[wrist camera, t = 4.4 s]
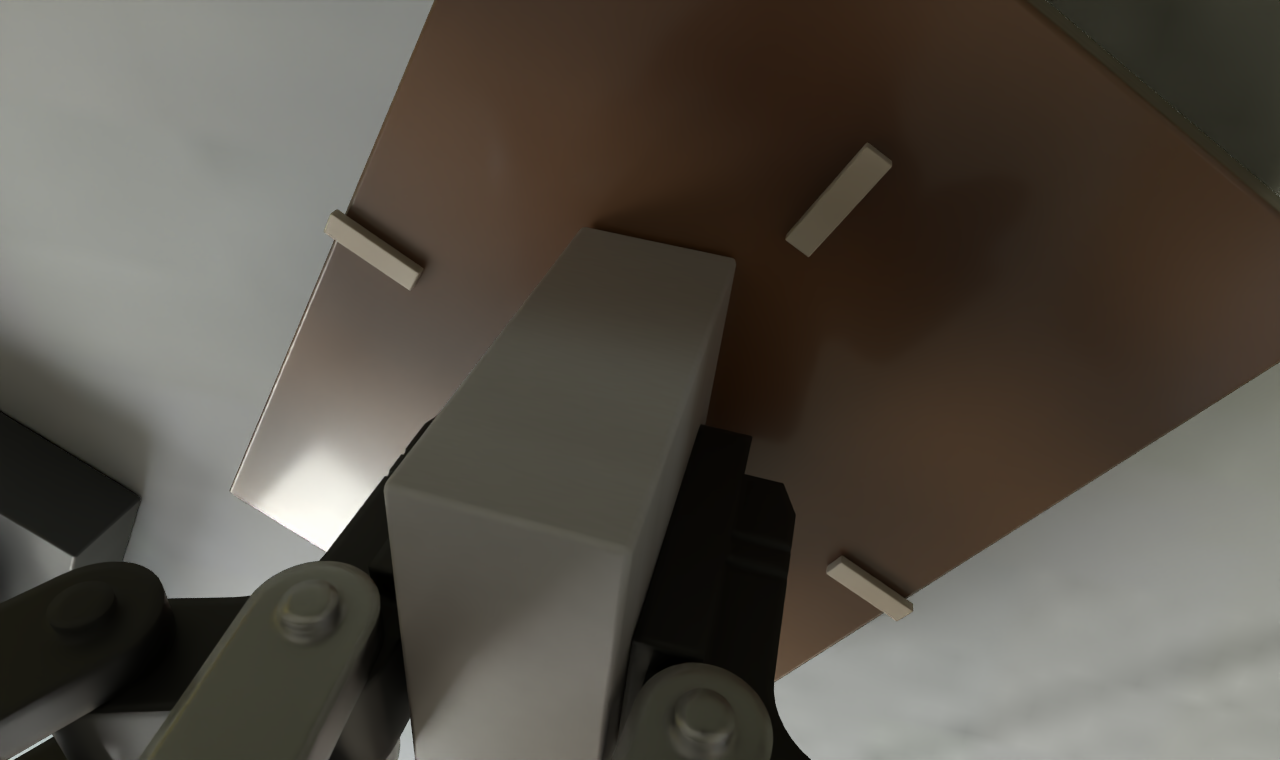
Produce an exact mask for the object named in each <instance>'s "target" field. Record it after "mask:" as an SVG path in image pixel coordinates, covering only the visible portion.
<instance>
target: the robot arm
mask: <svg viewBox="0 0 1280 760" xmlns="http://www.w3.org/2000/svg"><path fill="white" fill-rule="evenodd" d="M435 418H436V417H434V418H433V419H431V420H429V421H428V422H426V423H425V424H424V425H423V427H422V428H421V429H420V430H419V432H418V433H417V434H416V436H415V437H414V438H413V440H412V441H411V442H410V444H409V445H408V446H407V448H406V449H405V453H404V455H403V454H401V455H400V457H399V458H398V459H397V461H396V462H395V463H394V465H393V466H392V467H391V468H390V470H389V474H388V476H384V478H383V479H382V480H381V482H380V483H379V484H378V485H377V487H376V488H375V489H374V491H373V492H372V493H371V495H370V496H369V497H368V499H367V500H366V501H365V502H364V504H363V505H362V506H361V508H360V509H359V510H358V512H357V513H356V514H355V516H354V517H353V518H352V520H351V521H350V522H349V523H348V525H347V526H346V527H345V529H344V530H343V531H342V533H341V534H340V535H339V537H338V538H337V539H336V540H335V542H334V543H333V544H332V546H331V547H330V548H329V550H328V551H327V552H326V554H325V555H324V556H323V557H322V558H321V559H320V561H315V562H308V563H304V564H300V565H296V566H293V567H291V568H288V569H286V570H283V571H282V572H280V573H278V574H276V575H274V576H272V577H271V578H270V579H268V580H267V581H265V582H264V583H263V584H262V585H261V586H260V587H258V588H257V589H256V590H255V591H254V592H253V594H252V595H251V596H244V597H226V598H171V599H168V598H167V596H166V593H165V591H164V588H163V585H162V583H161V582H160V580H159V578H158V577H157V576H156V575H155V574H154V573H153V572H152V571H150V570H149V569H147V568H146V567H143V566H140V565H138V564H134V563H128V562H114V561H113V562H102V563H96V564H91V565H86V566H83V567H80V568H77V569H73V570H71V571H69V572H66V573H64V574H61V575H59V576H57V577H55V578H53V579H51V580H49V581H47V582H44V583H42V584H40V585H38V586H36V587H34V588H32V589H30V590H28V591H25V592H23V593H21V594H19V595H17V596H15V597H13V598H11V599H9V600H6V601H4V602H2V603H0V760H8V759H10V758H11V757H13V756H15V755H17V754H18V753H20V752H22V751H23V750H25V749H27V748H29V747H30V746H32V745H34V744H36V743H37V742H39V741H41V740H42V739H44V738H46V737H48V736H49V735H51V734H52V735H53V736H54V737H52V738H50V739H49V740H47V741H45V742H44V743H42V744H40V745H38V746H37V747H35V748H33V749H32V750H30V751H28V752H26V753H25V754H23V755H21V756H20V757H18V758H16V759H14V760H398V757H399V752H400V736H401V734H402V732H403V730H404V728H405V726H406V724H407V723H408V721H409V719H410V710H409V702H408V693H407V685H406V676H405V668H404V659H403V651H402V642H401V634H400V625H399V617H398V608H397V600H396V591H395V583H394V574H393V566H392V557H391V549H390V540H389V532H388V523H387V515H386V506H385V498H384V486H385V483H386V481H387V480H388V479H389V478H390V476H391V475H392V474H393V472H394V471H395V470H396V468H397V467H398V466H399V465H400V463H401V462H402V461H403V459H404V458H405V457H406V455H407V454H408V453H409V452H410V450H411V449H412V448H413V446H414V445H415V444H416V442H417V441H418V440H419V439H420V437H421V436H422V435H423V433H424V432H425V431H426V429H427V428H428V427H429V426H430V424H431V423H432V422H433V420H434V419H435ZM752 437H753V436H750V435H746V434H741V433H737V432H733V431H729V430H724V429H720V428H716V427H712V426H707V425H703V424H701V425H700V427H699V430H698V433H697V436H696V439H695V442H694V445H693V448H692V452H691V455H690V458H689V461H688V464H687V467H686V470H685V473H684V477H683V480H682V483H681V486H680V489H679V492H678V495H677V499H676V502H675V505H674V508H673V511H672V515H671V518H670V521H669V524H668V528H667V531H666V534H665V537H664V540H663V544H662V547H661V550H660V553H659V556H658V560H657V563H656V566H655V569H654V573H653V576H652V579H651V582H650V585H649V589H648V592H647V595H646V598H645V602H644V605H643V608H642V611H641V614H640V618H639V621H638V624H637V627H636V631H635V634H634V637H633V640H632V647H631V654H630V660H629V667H628V673H627V680H626V687H625V693H624V700H623V706H622V713H621V720H620V726H619V733H618V739H617V746H616V749H615V751H614V754H613V756H612V758H611V760H811V759H810V758H809V757H808V756H806V755H805V754H804V753H803V752H802V751H801V750H800V749H799V747H798V746H797V745H796V744H795V742H794V741H793V740H792V739H791V737H790V736H789V734H788V732H787V731H786V729H785V728H784V726H783V723H782V721H781V719H780V717H779V714H778V711H777V707H776V704H775V697H774V678H775V671H776V663H777V655H778V648H779V640H780V633H781V625H782V617H783V610H784V602H785V594H786V587H787V576H788V572H789V564H790V556H791V553H790V552H791V548H792V541H793V534H794V526H795V518H796V514H795V511H794V509H793V506H792V504H791V501H790V498H789V496H788V493H787V491H786V488H785V486H784V483H780V482H776V481H772V480H768V479H763V478H759V477H755V476H751V475H747V474H745V470H746V465H747V460H748V456H749V451H750V447H751V442H752Z"/></svg>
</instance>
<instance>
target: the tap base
mask: <svg viewBox="0 0 1280 760" xmlns="http://www.w3.org/2000/svg"><path fill="white" fill-rule="evenodd" d="M584 227H587V228H592V229H597V230H602V231H606V232H611V233H616V234H621V235H625V236H630V237H635V238H640V239H644V240H649V241H654V242H659V243H663V244H668V245H673V246H678V247H682V248H687V249H692V250H697V251H702V252H706V253H711V254H716V255H721V256H725V257H730V258H733V259H735V262H736V268H735V273H734V278H733V283H732V289H731V294H730V299H729V304H728V309H727V314H726V320H725V325H724V330H723V335H722V340H721V345H720V351H719V356H718V361H717V366H716V371H715V376H714V382H713V387H712V392H711V397H710V402H709V407H708V413H707V418H706V423H705V425H707V426H712V427H716V428H720V429H724V430H729V431H733V432H737V433H741V434H746V435H750V436H753V437H752V442H751V447H750V451H749V456H748V460H747V465H746V470H745V474H747V475H751V476H755V477H759V478H763V479H768V480H772V481H776V482H780V483H784V486H785V488H786V491H787V493H788V496H789V498H790V501H791V504H792V506H793V509H794V511H795V514H796V518H795V526H794V534H793V541H792V548H791V552H790V553H791V556H790V564H789V572H788V576H787V587H786V594H785V602H784V610H783V617H782V625H781V633H780V640H779V648H778V655H777V663H776V671H775V678H774V682H776V681H777V680H779V679H781V678H782V677H784V676H785V675H787V674H788V673H790V672H792V671H793V670H795V669H796V668H798V667H799V666H801V665H803V664H804V663H806V662H807V661H809V660H810V659H812V658H814V657H815V656H817V655H818V654H820V653H822V652H823V651H825V650H826V649H828V648H829V647H831V646H833V645H834V644H836V643H837V642H839V641H840V640H842V639H844V638H845V637H847V636H848V635H850V634H852V633H853V632H855V631H856V630H858V629H859V628H861V627H863V626H864V625H866V624H867V623H869V622H870V621H872V620H874V619H875V618H877V617H878V616H880V615H881V614H883V613H885V614H887V615H888V616H890V617H891V618H893V619H894V620H895V621H898V620H900V619H902V618H903V617H905V616H906V615H908V614H910V613H911V612H913V604H912V603H911V602H910V601H908V600H907V598H908V597H910V596H911V595H913V594H915V593H916V592H918V591H919V590H921V589H923V588H924V587H926V586H927V585H929V584H930V583H932V582H934V581H935V580H937V579H938V578H940V577H941V576H943V575H945V574H946V573H948V572H949V571H951V570H952V569H954V568H956V567H957V566H959V565H960V564H962V563H964V562H965V561H967V560H968V559H970V558H971V557H973V556H975V555H976V554H978V553H979V552H981V551H982V550H984V549H986V548H987V547H989V546H990V545H992V544H994V543H995V542H997V541H998V540H1000V539H1001V538H1003V537H1005V536H1006V535H1008V534H1009V533H1011V532H1012V531H1014V530H1016V529H1017V528H1019V527H1020V526H1022V525H1023V524H1025V523H1027V522H1028V521H1030V520H1031V519H1033V518H1035V517H1036V516H1038V515H1039V514H1041V513H1042V512H1044V511H1046V510H1047V509H1049V508H1050V507H1052V506H1053V505H1055V504H1057V503H1058V502H1060V501H1061V500H1063V499H1065V498H1066V497H1068V496H1069V495H1071V494H1072V493H1074V492H1076V491H1077V490H1079V489H1080V488H1082V487H1083V486H1085V485H1087V484H1088V483H1090V482H1091V481H1093V480H1094V479H1096V478H1098V477H1099V476H1101V475H1102V474H1104V473H1106V472H1107V471H1109V470H1110V469H1112V468H1113V467H1115V466H1117V465H1118V464H1120V463H1121V462H1123V461H1124V460H1126V459H1128V458H1129V457H1131V456H1132V455H1134V454H1136V453H1137V452H1139V451H1140V450H1142V449H1143V448H1145V447H1147V446H1148V445H1150V444H1151V443H1153V442H1154V441H1156V440H1158V439H1159V438H1161V437H1162V436H1164V435H1165V434H1167V433H1169V432H1170V431H1172V430H1173V429H1175V428H1177V427H1178V426H1180V425H1181V424H1183V423H1184V422H1186V421H1188V420H1189V419H1191V418H1192V417H1194V416H1195V415H1197V414H1199V413H1200V412H1202V411H1203V410H1205V409H1207V408H1208V407H1210V406H1211V405H1213V404H1214V403H1216V402H1218V401H1219V400H1221V399H1222V398H1224V397H1225V396H1227V395H1229V394H1230V393H1232V392H1233V391H1235V390H1236V389H1238V388H1240V387H1241V386H1243V385H1244V384H1246V383H1248V382H1249V381H1251V380H1252V379H1254V378H1255V377H1257V376H1259V375H1260V374H1262V373H1263V372H1265V371H1266V370H1268V369H1270V368H1271V367H1273V366H1274V365H1276V364H1278V363H1279V362H1280V198H1279V197H1278V196H1277V195H1276V194H1275V193H1274V192H1273V191H1272V190H1271V189H1270V188H1269V187H1267V186H1266V185H1265V184H1264V183H1263V182H1261V181H1260V180H1259V179H1258V178H1257V177H1255V176H1254V175H1253V174H1252V173H1251V172H1249V171H1248V170H1247V169H1246V168H1245V167H1244V166H1242V165H1241V164H1240V163H1239V162H1238V161H1236V160H1235V159H1234V158H1233V157H1232V156H1230V155H1229V154H1228V153H1227V152H1226V151H1224V150H1223V149H1222V148H1221V147H1220V146H1219V145H1217V144H1216V143H1215V142H1214V141H1213V140H1211V139H1210V138H1209V137H1208V136H1207V135H1205V134H1204V133H1203V132H1202V131H1201V130H1199V129H1198V128H1197V127H1196V126H1195V125H1194V124H1192V123H1191V122H1190V121H1189V120H1188V119H1186V118H1185V117H1184V116H1183V115H1182V114H1180V113H1179V112H1178V111H1177V110H1176V109H1174V108H1173V107H1172V106H1171V105H1170V104H1169V103H1167V102H1166V101H1165V100H1164V99H1163V98H1161V97H1160V96H1159V95H1158V94H1157V93H1155V92H1154V91H1153V90H1152V89H1151V88H1149V87H1148V86H1147V85H1146V84H1145V83H1144V82H1142V81H1141V80H1140V79H1139V78H1138V77H1136V76H1135V75H1134V74H1133V73H1132V72H1130V71H1129V70H1128V69H1127V68H1126V67H1125V66H1123V65H1122V64H1121V63H1120V62H1119V61H1117V60H1116V59H1115V58H1114V57H1113V56H1111V55H1110V54H1109V53H1108V52H1107V51H1105V50H1104V49H1103V48H1102V47H1101V46H1100V45H1098V44H1097V43H1096V42H1095V41H1094V40H1092V39H1091V38H1090V37H1089V36H1088V35H1086V34H1085V33H1084V32H1083V31H1082V30H1080V29H1079V28H1078V27H1077V26H1076V25H1075V24H1073V23H1072V22H1071V21H1070V20H1069V19H1067V18H1066V17H1065V16H1064V15H1063V14H1061V13H1060V12H1059V11H1058V10H1057V9H1055V8H1054V7H1053V6H1052V5H1051V4H1050V3H1048V2H1047V1H1046V0H434V2H433V5H432V7H431V10H430V12H429V14H428V17H427V19H426V22H425V24H424V26H423V29H422V31H421V34H420V36H419V38H418V41H417V43H416V46H415V48H414V50H413V53H412V55H411V58H410V60H409V62H408V65H407V67H406V70H405V72H404V74H403V77H402V79H401V81H400V84H399V86H398V89H397V91H396V93H395V96H394V98H393V101H392V103H391V105H390V108H389V110H388V113H387V115H386V117H385V120H384V122H383V125H382V127H381V129H380V132H379V134H378V137H377V139H376V141H375V144H374V146H373V148H372V151H371V153H370V156H369V158H368V160H367V163H366V165H365V168H364V170H363V172H362V175H361V177H360V180H359V182H358V184H357V187H356V189H355V192H354V194H353V196H352V199H351V201H350V204H349V206H348V208H347V211H346V213H345V214H344V213H342V212H341V211H339V210H335V211H334V212H332V213H331V214H330V217H329V219H328V222H327V224H326V227H325V229H324V233H326V234H327V235H329V236H330V237H332V238H333V239H334V242H333V244H332V247H331V249H330V251H329V254H328V256H327V259H326V261H325V263H324V266H323V268H322V271H321V273H320V275H319V278H318V280H317V283H316V285H315V287H314V290H313V292H312V294H311V297H310V299H309V302H308V304H307V306H306V309H305V311H304V314H303V316H302V318H301V321H300V323H299V326H298V328H297V330H296V333H295V335H294V338H293V340H292V342H291V345H290V347H289V350H288V352H287V354H286V357H285V359H284V361H283V364H282V366H281V369H280V371H279V373H278V376H277V378H276V381H275V383H274V385H273V388H272V390H271V393H270V395H269V397H268V400H267V402H266V405H265V407H264V409H263V412H262V414H261V417H260V419H259V421H258V424H257V426H256V428H255V431H254V433H253V436H252V438H251V440H250V443H249V445H248V448H247V450H246V452H245V455H244V457H243V460H242V462H241V464H240V467H239V469H238V472H237V474H236V476H235V479H234V481H233V484H232V486H231V488H230V493H231V494H232V495H234V496H236V497H237V498H239V499H240V500H242V501H244V502H245V503H247V504H249V505H250V506H252V507H253V508H255V509H257V510H258V511H260V512H261V513H263V514H265V515H266V516H268V517H270V518H271V519H273V520H274V521H276V522H278V523H279V524H281V525H282V526H284V527H286V528H287V529H289V530H291V531H292V532H294V533H295V534H297V535H299V536H300V537H302V538H304V539H305V540H307V541H308V542H310V543H312V544H313V545H315V546H316V547H318V548H320V549H321V550H323V551H325V552H327V551H328V550H329V548H330V547H331V546H332V544H333V543H334V542H335V540H336V539H337V538H338V537H339V535H340V534H341V533H342V531H343V530H344V529H345V527H346V526H347V525H348V523H349V522H350V521H351V520H352V518H353V517H354V516H355V514H356V513H357V512H358V510H359V509H360V508H361V506H362V505H363V504H364V502H365V501H366V500H367V499H368V497H369V496H370V495H371V493H372V492H373V491H374V489H375V488H376V487H377V485H378V484H379V483H380V482H381V480H382V479H383V478H384V476H388V474H389V470H390V468H391V467H392V466H393V465H394V463H395V462H396V461H397V459H398V458H399V457H400V455H401V454H403V455H404V453H405V449H406V448H407V446H408V445H409V444H410V442H411V441H412V440H413V438H414V437H415V436H416V434H417V433H418V432H419V430H420V429H421V428H422V427H423V425H424V424H425V423H426V422H428V421H429V420H431V419H433V418H434V417H436V416H437V415H438V414H439V413H440V411H441V410H442V409H443V407H444V406H445V405H446V403H447V402H448V401H449V400H450V398H451V397H452V396H453V394H454V393H455V392H456V390H457V389H458V388H459V387H460V385H461V384H462V383H463V381H464V380H465V379H466V377H467V376H468V375H469V374H470V372H471V371H472V370H473V368H474V367H475V366H476V364H477V363H478V362H479V361H480V359H481V358H482V357H483V355H484V354H485V353H486V351H487V350H488V349H489V348H490V346H491V345H492V344H493V342H494V341H495V340H496V338H497V337H498V336H499V335H500V333H501V332H502V331H503V329H504V328H505V327H506V325H507V324H508V323H509V322H510V320H511V319H512V318H513V316H514V315H515V314H516V312H517V311H518V310H519V309H520V307H521V306H522V305H523V303H524V302H525V301H526V299H527V298H528V297H529V296H530V294H531V293H532V292H533V290H534V289H535V288H536V286H537V285H538V284H539V283H540V281H541V280H542V279H543V277H544V276H545V275H546V273H547V272H548V271H549V270H550V268H551V267H552V266H553V264H554V263H555V262H556V260H557V259H558V258H559V257H560V255H561V254H562V253H563V251H564V250H565V249H566V247H567V246H568V245H569V244H570V242H571V241H572V240H573V238H574V237H575V236H576V234H577V233H578V232H579V231H580V229H581V228H584Z"/></svg>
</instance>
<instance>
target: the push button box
mask: <svg viewBox="0 0 1280 760" xmlns="http://www.w3.org/2000/svg"><path fill="white" fill-rule="evenodd" d="M140 500H141V498H140V497H139V496H137V495H136V494H134V493H132V492H131V491H129V490H128V489H126V488H124V487H123V486H121V485H119V484H118V483H116V482H114V481H113V480H111V479H109V478H108V477H106V476H104V475H103V474H101V473H100V472H98V471H96V470H95V469H93V468H91V467H90V466H88V465H86V464H85V463H83V462H81V461H80V460H78V459H76V458H75V457H73V456H72V455H70V454H68V453H67V452H65V451H63V450H62V449H60V448H58V447H57V446H55V445H53V444H52V443H50V442H48V441H47V440H45V439H44V438H42V437H40V436H39V435H37V434H35V433H34V432H32V431H30V430H29V429H27V428H25V427H24V426H22V425H20V424H19V423H17V422H15V421H14V420H12V419H11V418H9V417H7V416H6V415H4V414H2V413H1V412H0V603H2V602H4V601H6V600H9V599H11V598H13V597H15V596H17V595H19V594H21V593H23V592H25V591H28V590H30V589H32V588H34V587H36V586H38V585H40V584H42V583H44V582H47V581H49V580H51V579H53V578H55V577H57V576H59V575H61V574H64V573H66V572H69V571H71V570H73V569H77V568H80V567H83V566H86V565H91V564H96V563H102V562H113V561H114V562H122V560H123V556H124V553H125V550H126V546H127V543H128V540H129V536H130V533H131V530H132V526H133V523H134V520H135V516H136V513H137V510H138V506H139V503H140Z"/></svg>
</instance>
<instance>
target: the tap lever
mask: <svg viewBox="0 0 1280 760" xmlns="http://www.w3.org/2000/svg"><path fill="white" fill-rule="evenodd" d="M735 268H736V262H735V259H733V258H730V257H725V256H721V255H716V254H711V253H706V252H702V251H697V250H692V249H687V248H682V247H678V246H673V245H668V244H663V243H659V242H654V241H649V240H644V239H640V238H635V237H630V236H625V235H621V234H616V233H611V232H606V231H602V230H597V229H592V228H587V227H584V228H581V229H580V231H579V232H578V233H577V234H576V236H575V237H574V238H573V240H572V241H571V242H570V244H569V245H568V246H567V247H566V249H565V250H564V251H563V253H562V254H561V255H560V257H559V258H558V259H557V260H556V262H555V263H554V264H553V266H552V267H551V268H550V270H549V271H548V272H547V273H546V275H545V276H544V277H543V279H542V280H541V281H540V283H539V284H538V285H537V286H536V288H535V289H534V290H533V292H532V293H531V294H530V296H529V297H528V298H527V299H526V301H525V302H524V303H523V305H522V306H521V307H520V309H519V310H518V311H517V312H516V314H515V315H514V316H513V318H512V319H511V320H510V322H509V323H508V324H507V325H506V327H505V328H504V329H503V331H502V332H501V333H500V335H499V336H498V337H497V338H496V340H495V341H494V342H493V344H492V345H491V346H490V348H489V349H488V350H487V351H486V353H485V354H484V355H483V357H482V358H481V359H480V361H479V362H478V363H477V364H476V366H475V367H474V368H473V370H472V371H471V372H470V374H469V375H468V376H467V377H466V379H465V380H464V381H463V383H462V384H461V385H460V387H459V388H458V389H457V390H456V392H455V393H454V394H453V396H452V397H451V398H450V400H449V401H448V402H447V403H446V405H445V406H444V407H443V409H442V410H441V411H440V413H439V414H438V415H437V416H436V418H435V419H434V420H433V422H432V423H431V424H430V426H429V427H428V428H427V429H426V431H425V432H424V433H423V435H422V436H421V437H420V439H419V440H418V441H417V442H416V444H415V445H414V446H413V448H412V449H411V450H410V452H409V453H408V454H407V455H406V457H405V458H404V459H403V461H402V462H401V463H400V465H399V466H398V467H397V468H396V470H395V471H394V472H393V474H392V475H391V476H390V478H389V479H388V480H387V481H386V483H385V486H384V498H385V506H386V515H387V523H388V532H389V540H390V549H391V557H392V566H393V574H394V583H395V591H396V600H397V608H398V617H399V625H400V634H401V642H402V651H403V659H404V668H405V676H406V685H407V693H408V702H409V710H410V719H411V727H412V736H413V744H414V753H415V760H611V758H612V756H613V754H614V751H615V749H616V746H617V739H618V733H619V726H620V720H621V713H622V706H623V700H624V693H625V687H626V680H627V673H628V667H629V660H630V654H631V647H632V640H633V637H634V634H635V631H636V627H637V624H638V621H639V618H640V614H641V611H642V608H643V605H644V602H645V598H646V595H647V592H648V589H649V585H650V582H651V579H652V576H653V573H654V569H655V566H656V563H657V560H658V556H659V553H660V550H661V547H662V544H663V540H664V537H665V534H666V531H667V528H668V524H669V521H670V518H671V515H672V511H673V508H674V505H675V502H676V499H677V495H678V492H679V489H680V486H681V483H682V480H683V477H684V473H685V470H686V467H687V464H688V461H689V458H690V455H691V452H692V448H693V445H694V442H695V439H696V436H697V433H698V430H699V427H700V425H701V424H703V425H705V423H706V418H707V413H708V407H709V402H710V397H711V392H712V387H713V382H714V376H715V371H716V366H717V361H718V356H719V351H720V345H721V340H722V335H723V330H724V325H725V320H726V314H727V309H728V304H729V299H730V294H731V289H732V283H733V278H734V273H735Z"/></svg>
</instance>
